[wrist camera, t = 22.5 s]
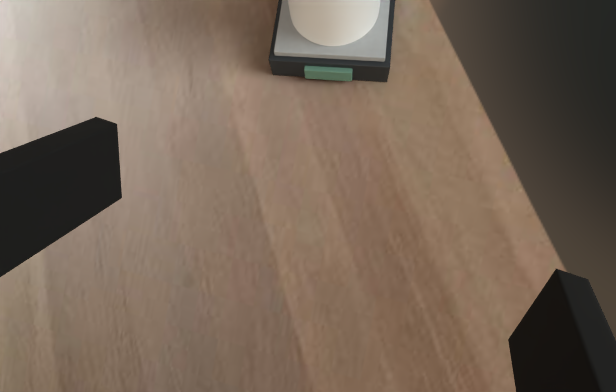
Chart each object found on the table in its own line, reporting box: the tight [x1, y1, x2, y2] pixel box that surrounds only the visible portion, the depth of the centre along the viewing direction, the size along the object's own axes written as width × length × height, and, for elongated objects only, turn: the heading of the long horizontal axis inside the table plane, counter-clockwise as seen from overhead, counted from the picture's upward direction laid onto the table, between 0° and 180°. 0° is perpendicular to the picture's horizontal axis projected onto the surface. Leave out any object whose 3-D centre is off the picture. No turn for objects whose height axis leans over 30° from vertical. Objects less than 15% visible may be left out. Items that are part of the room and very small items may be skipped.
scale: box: [269, 0, 395, 82], centre depth 38 cm, size 11×12×3 cm
